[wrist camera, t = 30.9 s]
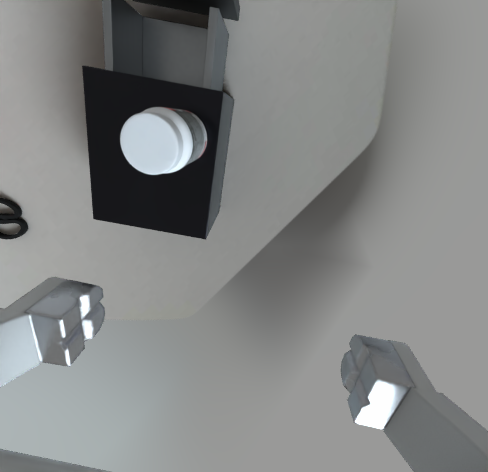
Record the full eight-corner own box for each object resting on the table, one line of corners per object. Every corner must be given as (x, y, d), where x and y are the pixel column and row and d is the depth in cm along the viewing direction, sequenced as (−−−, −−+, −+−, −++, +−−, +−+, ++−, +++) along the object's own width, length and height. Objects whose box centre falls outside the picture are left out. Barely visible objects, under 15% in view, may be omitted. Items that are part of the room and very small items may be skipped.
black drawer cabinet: (131, 80, 32) (81, 65, 23) (234, 99, 32) (223, 91, 23) (132, 196, 38) (93, 219, 29) (219, 211, 38) (205, 239, 29)
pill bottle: (190, 99, 24) (157, 89, 16) (217, 147, 25) (197, 159, 18) (149, 125, 25) (99, 128, 17) (176, 170, 26) (142, 191, 19)
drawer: (132, -77, 26) (82, -154, 19) (248, -55, 26) (242, -123, 19) (133, 124, 33) (97, 125, 26) (223, 140, 33) (212, 146, 26)
